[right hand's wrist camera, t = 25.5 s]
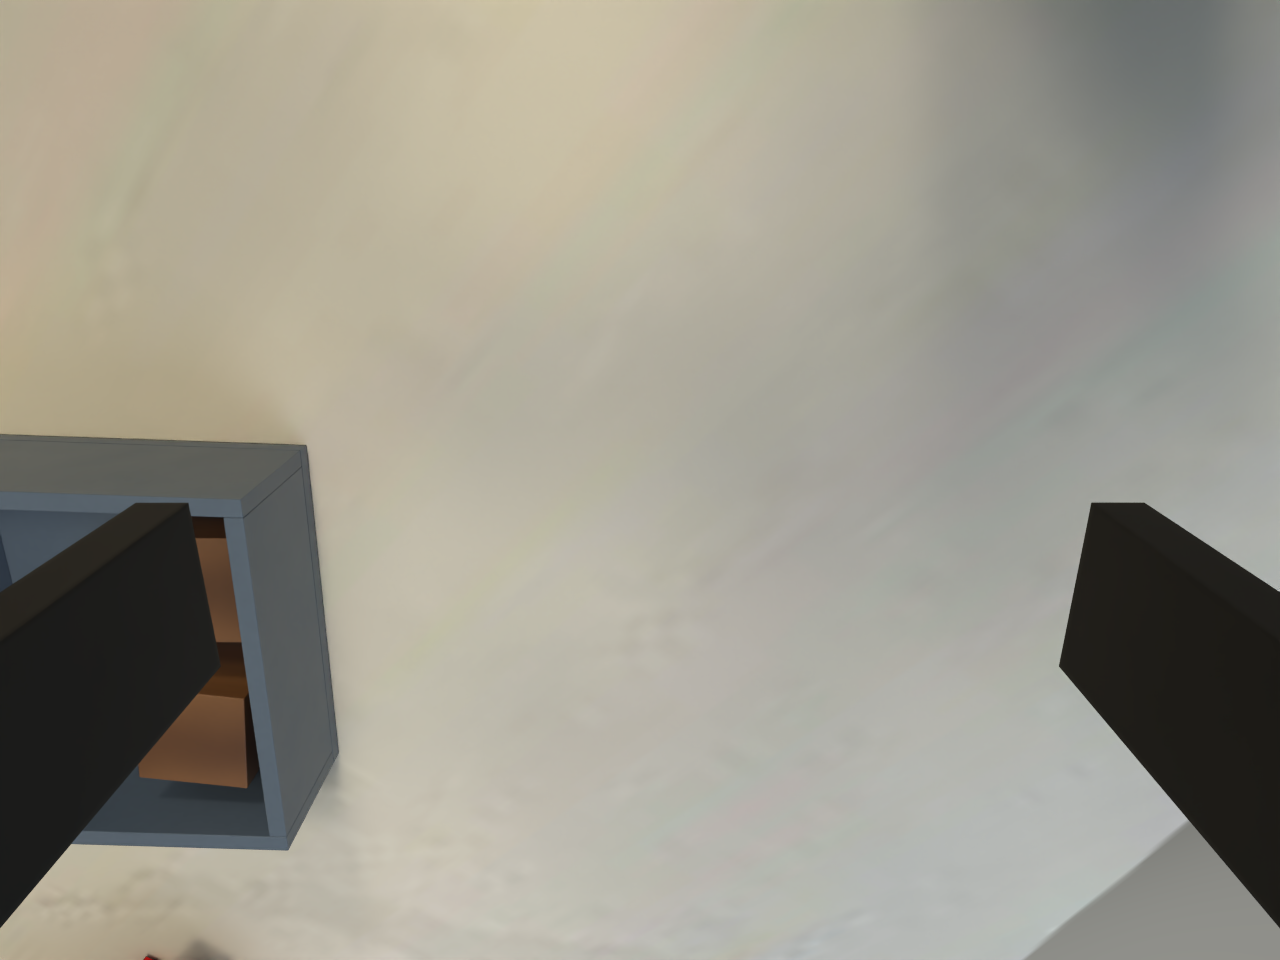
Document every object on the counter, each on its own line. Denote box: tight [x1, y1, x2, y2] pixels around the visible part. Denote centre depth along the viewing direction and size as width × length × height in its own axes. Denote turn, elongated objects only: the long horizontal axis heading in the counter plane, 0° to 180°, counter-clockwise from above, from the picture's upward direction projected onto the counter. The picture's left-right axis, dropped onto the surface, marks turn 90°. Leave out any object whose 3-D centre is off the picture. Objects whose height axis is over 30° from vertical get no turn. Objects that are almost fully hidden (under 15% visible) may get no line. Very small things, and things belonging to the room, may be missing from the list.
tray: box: [0, 434, 338, 850], centre depth 39 cm, size 18×26×7 cm
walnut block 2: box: [138, 642, 260, 788], centre depth 41 cm, size 5×5×5 cm
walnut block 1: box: [191, 516, 241, 642], centre depth 38 cm, size 5×5×5 cm
